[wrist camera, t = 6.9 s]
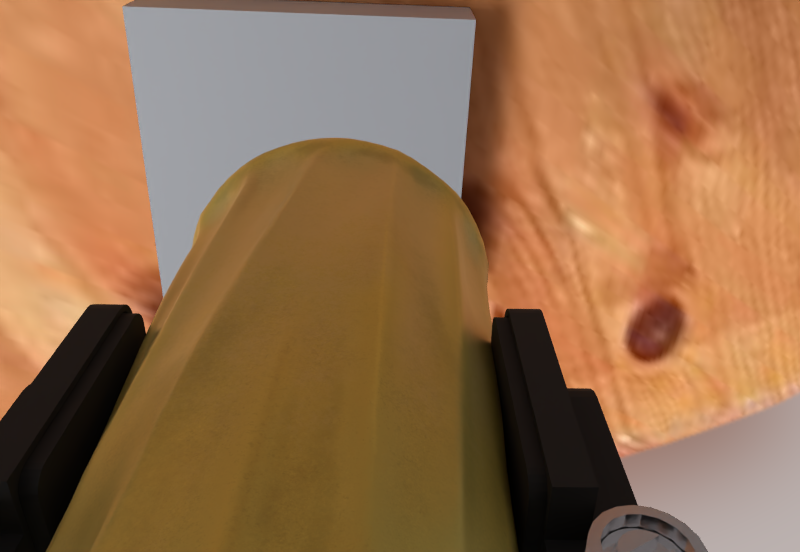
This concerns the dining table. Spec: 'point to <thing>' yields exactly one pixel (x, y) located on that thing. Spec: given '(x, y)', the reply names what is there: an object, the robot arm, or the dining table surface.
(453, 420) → the vase
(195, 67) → the plinth
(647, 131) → the dining table surface
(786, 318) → the dining table surface
